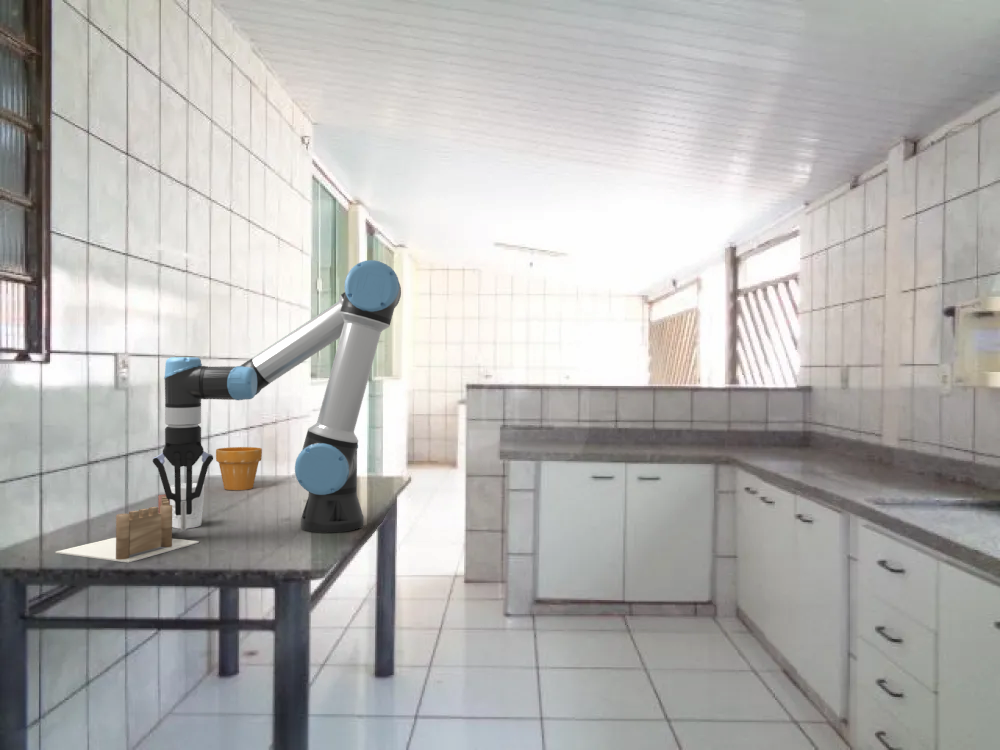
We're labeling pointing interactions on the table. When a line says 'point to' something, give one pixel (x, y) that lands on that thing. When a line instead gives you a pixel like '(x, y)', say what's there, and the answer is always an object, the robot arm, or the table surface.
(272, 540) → the table surface
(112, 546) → the card
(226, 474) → the flower pot
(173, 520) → the white cup
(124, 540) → the wooden castle wall
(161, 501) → the swing panel
